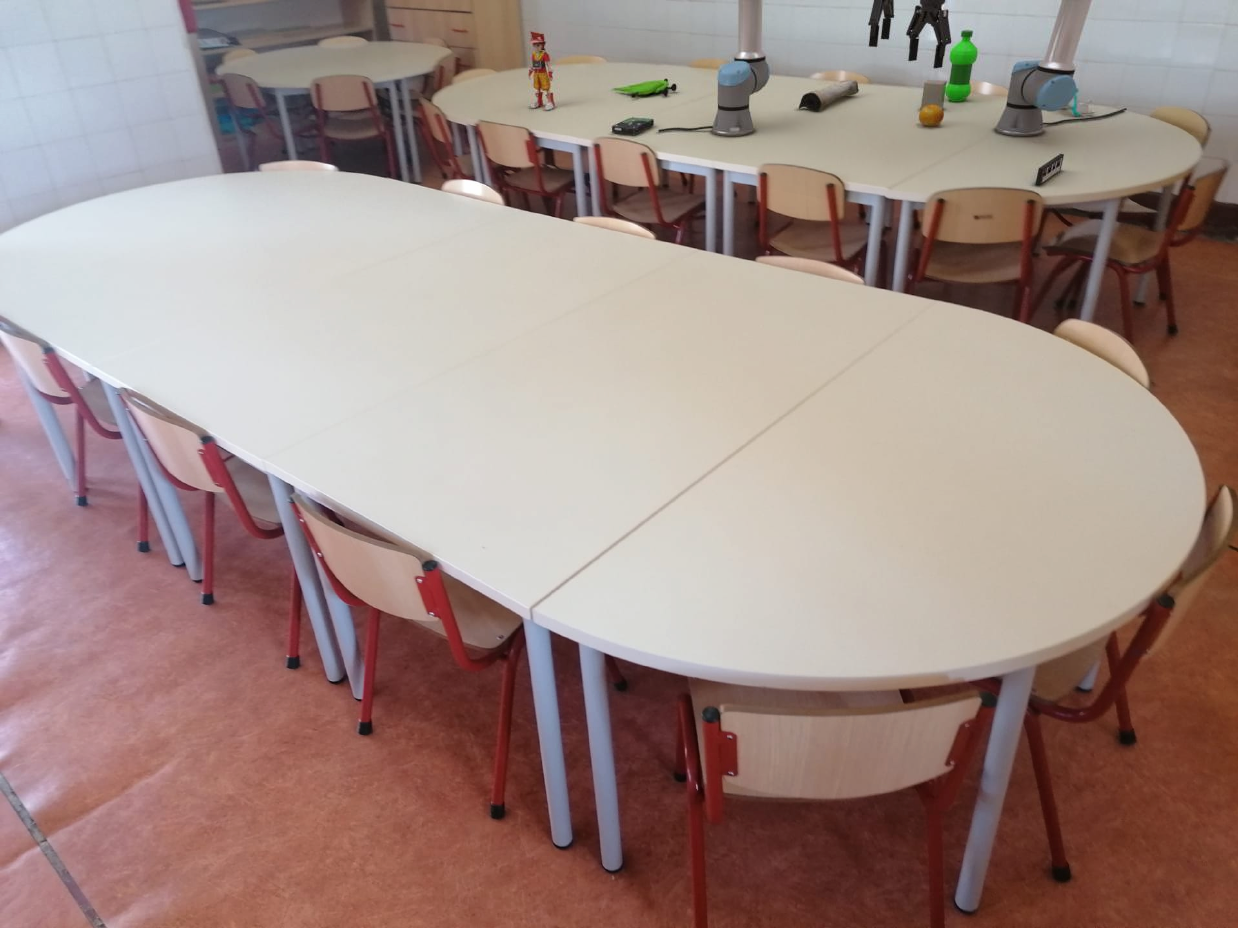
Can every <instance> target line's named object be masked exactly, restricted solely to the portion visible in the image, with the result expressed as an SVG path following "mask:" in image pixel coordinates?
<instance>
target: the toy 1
mask: <svg viewBox="0 0 1238 928" xmlns="http://www.w3.org/2000/svg"><path fill="white" fill-rule="evenodd" d="M529 33H530V35H531V36H528V37H527V38H528V39H529V40H528V41H527V43H529V44H530V43H531V44H532V48H533V50H534V51H533V52H532V55H531V58H530V59H531V63H530V66H528V74H527V75H528V76H527V77H528V79H529V80H531V75H532V74H533V84H532V85H533V86H532V87H533V88H534V89H535V90H536V92H534V95H535V97H536V100H535V101H533V102H531V105H530V108H531V109H535V108H538V107H542V106H544V101H543V100H544V99H543V95H544V92H546V94H545V97H546V99H547V103H546V104H545V106H544V110H546V111H549V110H553V109H554V107H555V106H556V105H555V99H554V92H551V91H550V90H551V86H552V84H551V82H552V81H553V80H554V77H553V73H554V71H555V70H554V69H552V68H551V63H550V61H551V59H550V58H551V57H550V54H549V53H548V52H547V50H546V48H545V46H546V44H547V41H545V35H544V33H543V32H542V33H539V32H535V31H529Z"/></svg>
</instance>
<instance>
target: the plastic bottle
mask: <svg viewBox="0 0 1238 928" xmlns="http://www.w3.org/2000/svg"><path fill="white" fill-rule="evenodd" d="M973 33H974V30H970V29H967V30H966V29H964V30H961V33H960V37H961V41H959V42H957V44H956V45H954V46H953V47H952V48H951V50H950V53H949V61H950V63H951V68H950V74H949V81H948V82H947V84H946V90H945V96H946V97H947V99H949V101H951V102H963V101H964V100H966V99H968V97H969V96H970V94H971V92H972V91H971V90H972V85H971V82H970V81H971V76H972V70H973V64H975V62H976V61H977V59H978V53H979V51H978V47H976V45H975V44H974V43H973V41H971V38H972V37H973Z"/></svg>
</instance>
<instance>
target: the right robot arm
mask: <svg viewBox="0 0 1238 928" xmlns="http://www.w3.org/2000/svg"><path fill="white" fill-rule="evenodd" d="M1092 1H1093V0H1061V2H1060V6H1059V9H1058V12H1057V14H1056V15H1057V16H1056V19H1055V22H1054V26H1053V29H1052V33H1051V36H1050V39H1049V42H1048V46H1047V50H1046V53H1045V56H1044V58H1043V59H1042V60H1037V59H1036V60H1023V61H1018V62H1016V63H1014V64H1013V67H1012V71H1011V74H1010V75H1011V77H1010V82H1009V87H1008V92H1007V98H1006V103H1005V108H1004V110H1003V112H1002V114H1001V115H1000V117H999V119H998V122H997V124H996V128H995V130H996V132H998V133H999V134H1001V135H1004V136H1005V135H1006V136H1011V137H1033V136H1038V135H1040V134H1042V133H1043V130H1044V126H1053V125H1057V124H1060V123H1065V122H1077V121H1089V120H1096V119H1101V118H1106V117H1109V116H1114V115H1116V114H1119V113H1122V112H1125V111H1127V110H1128V109H1127V108H1126V107H1124V108H1121V109H1119V110H1117V111H1113V112H1110V113H1106V114H1102V115H1097V116H1091V117H1081V118H1080V117H1079V118H1068V119H1061V120H1057V121H1053V122H1044V120H1043V119H1044V118H1043V112H1042V111H1046V112H1051V113H1052V112H1058V111H1060V110H1063V109H1064V108H1063V107H1065V106H1066V105H1068V104H1069V102H1070V101H1071V100H1072V99H1073V97H1074V95H1075V92H1076V88H1077V83H1076V81H1075V79H1074V75H1075V72H1076V69H1077V68H1076V66H1075V63H1074V59H1075V56H1076V53H1077V49H1078V46H1079V42H1080V40H1081V36H1082V33H1083V31H1084V27H1085V23H1086V20H1087V17H1088V14H1089V10H1090V8H1091V4H1092ZM945 3H946V0H919V4H918V5H917V4H916V5H915V7H914V12H913V15H912V17H911V20H910V22H909V25H908V27H907V30H906V33H905V35H906V37H908V39H909V46H908V58H907V59H908V60H907V62H914V61H917V60H918V52H919V43H920V34H921V32H922V31H923V30H924V28H925V26H926V25H927V24H928V25H930V27H932V29H933V32H934V35H935V38H936V41H937V44H936V45H935V53H934V61H933V69H940V68H941V69H942V68H943V64H944V58H945V53H946V47H947V45H950V44H952V35H951V28H950V22H949V12H950V11H949V9H943V5H945ZM1065 108H1066V107H1065Z"/></svg>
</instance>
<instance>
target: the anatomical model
mask: <svg viewBox="0 0 1238 928" xmlns="http://www.w3.org/2000/svg"><path fill="white" fill-rule="evenodd" d="M1077 93H1079V88H1078V87H1076V92H1075V95H1074V97H1073V99H1072V100H1071V101H1070V102H1069V104H1068V105H1066V106H1065V107H1063V108H1062V109H1065V108H1069V109H1070V110H1071V112H1072V114H1073V116H1074V117H1081V116H1083V115H1094V114H1095V113H1096V110H1093V109H1089V105H1090V104H1091V103H1092V102H1093V100H1092V99H1088V100H1085V101H1084V102H1081V103H1079V100H1078V95H1077Z"/></svg>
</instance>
